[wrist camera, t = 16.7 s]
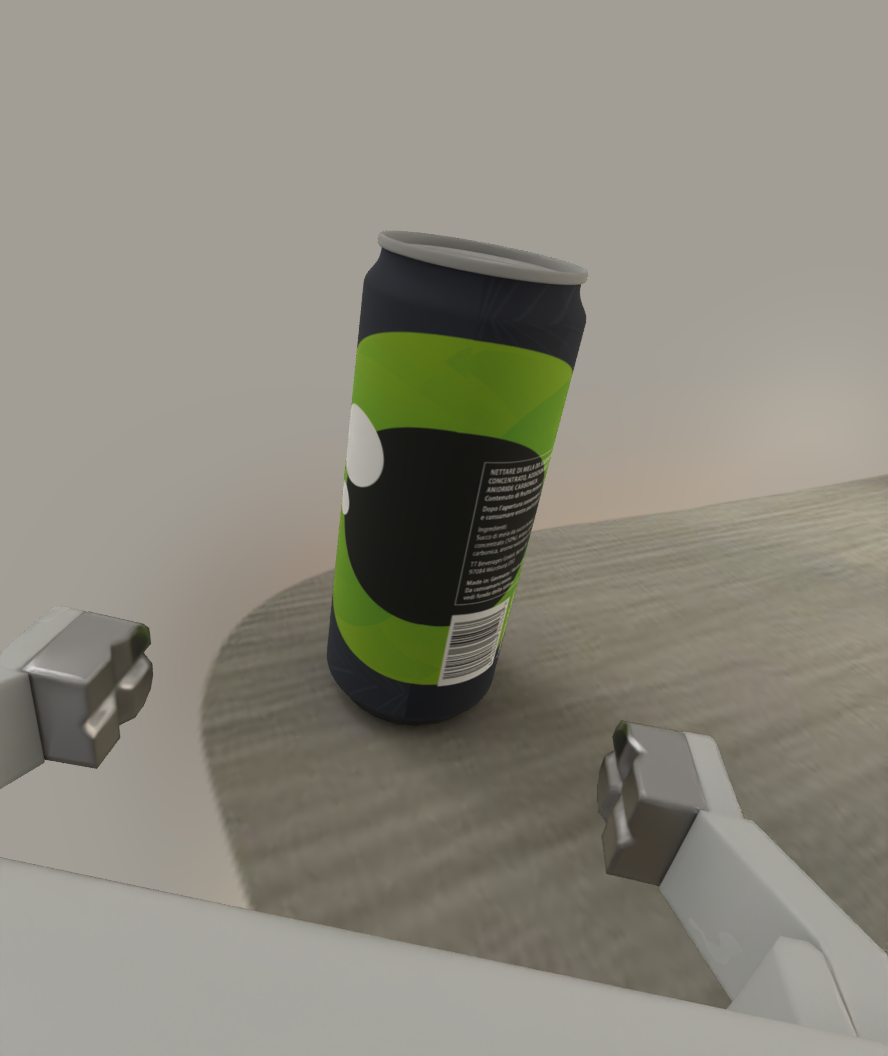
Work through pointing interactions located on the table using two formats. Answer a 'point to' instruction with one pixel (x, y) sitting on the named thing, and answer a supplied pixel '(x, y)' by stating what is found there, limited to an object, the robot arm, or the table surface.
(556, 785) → the table surface
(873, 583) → the table surface
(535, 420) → the beverage can
